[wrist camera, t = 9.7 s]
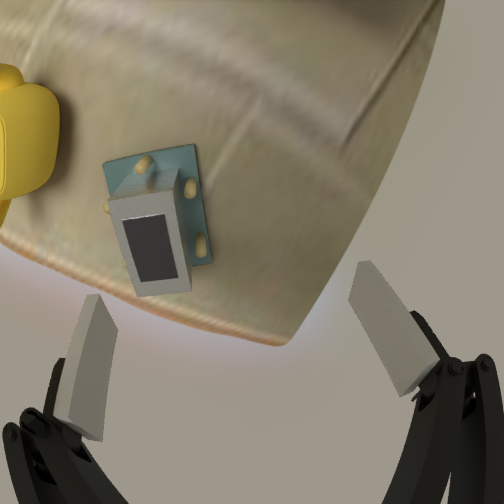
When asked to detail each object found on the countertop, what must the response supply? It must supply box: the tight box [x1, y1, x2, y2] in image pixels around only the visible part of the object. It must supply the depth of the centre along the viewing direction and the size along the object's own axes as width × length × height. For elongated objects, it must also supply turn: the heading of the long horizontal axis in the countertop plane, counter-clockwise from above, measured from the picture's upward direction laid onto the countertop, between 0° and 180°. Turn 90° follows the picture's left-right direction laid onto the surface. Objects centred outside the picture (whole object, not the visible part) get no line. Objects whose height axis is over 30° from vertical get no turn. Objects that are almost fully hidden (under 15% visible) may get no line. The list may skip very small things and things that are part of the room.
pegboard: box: [103, 144, 212, 268], centre depth 29 cm, size 15×10×5 cm
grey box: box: [107, 168, 192, 297], centre depth 27 cm, size 11×6×7 cm, turn 2°
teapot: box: [0, 63, 60, 228], centre depth 16 cm, size 13×20×12 cm
